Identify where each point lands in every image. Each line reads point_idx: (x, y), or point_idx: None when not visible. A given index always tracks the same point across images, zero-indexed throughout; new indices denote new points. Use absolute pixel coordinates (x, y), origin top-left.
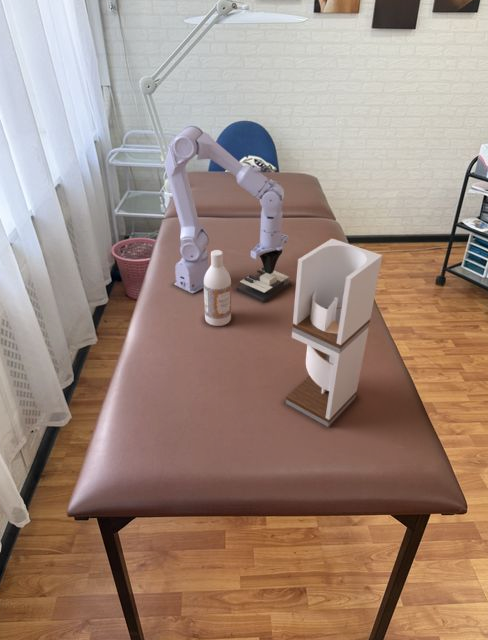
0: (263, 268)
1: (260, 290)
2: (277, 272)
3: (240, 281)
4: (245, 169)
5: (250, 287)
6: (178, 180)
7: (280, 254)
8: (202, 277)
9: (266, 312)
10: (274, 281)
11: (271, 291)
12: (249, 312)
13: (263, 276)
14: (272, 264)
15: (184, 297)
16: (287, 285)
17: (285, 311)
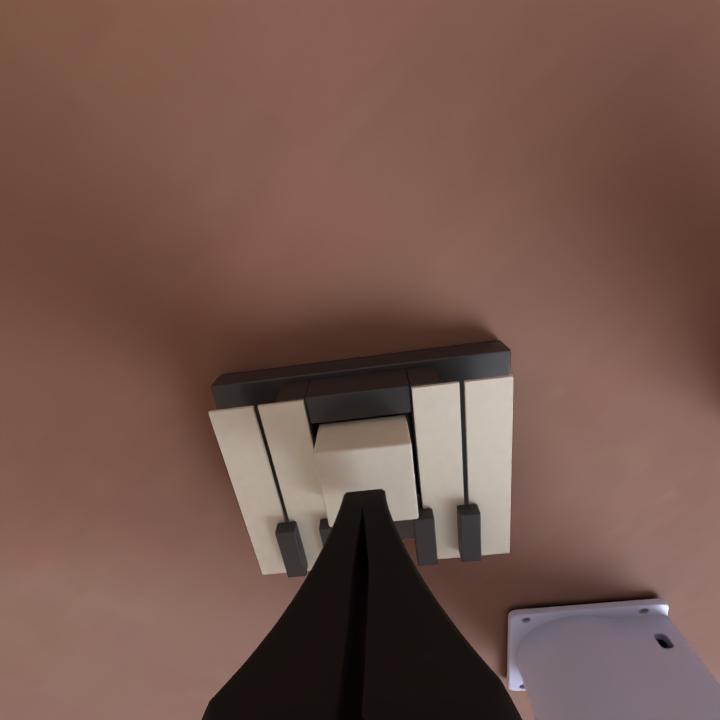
0: (297, 567)
1: (512, 409)
2: (242, 493)
3: (508, 549)
4: None
5: None
6: None
7: (244, 674)
8: (621, 670)
9: (578, 247)
10: (347, 429)
11: (420, 372)
12: (643, 319)
13: (401, 504)
14: (388, 567)
15: (705, 597)
16: (249, 376)
17: (481, 163)
